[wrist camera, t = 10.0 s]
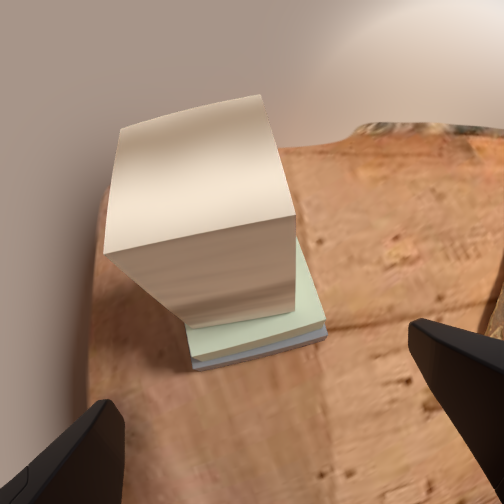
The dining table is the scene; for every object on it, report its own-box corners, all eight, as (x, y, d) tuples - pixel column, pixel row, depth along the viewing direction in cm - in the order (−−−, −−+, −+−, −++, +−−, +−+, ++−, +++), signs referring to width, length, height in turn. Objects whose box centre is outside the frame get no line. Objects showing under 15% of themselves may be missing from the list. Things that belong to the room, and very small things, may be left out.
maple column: (295, 311, 18) (295, 214, 9) (192, 328, 18) (103, 254, 9) (276, 222, 21) (260, 94, 12) (185, 239, 21) (120, 128, 12)
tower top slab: (321, 328, 20) (326, 318, 18) (202, 361, 20) (191, 356, 18) (285, 225, 24) (284, 206, 21) (181, 255, 24) (169, 239, 21)
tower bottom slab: (323, 341, 22) (328, 334, 20) (202, 372, 22) (193, 368, 20) (289, 234, 26) (289, 218, 24) (182, 262, 26) (173, 249, 24)
